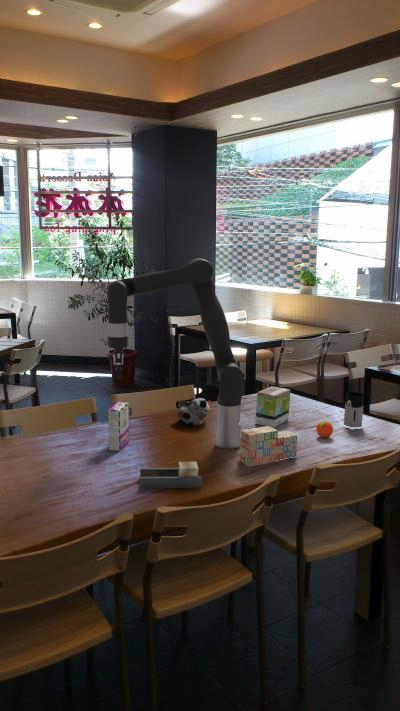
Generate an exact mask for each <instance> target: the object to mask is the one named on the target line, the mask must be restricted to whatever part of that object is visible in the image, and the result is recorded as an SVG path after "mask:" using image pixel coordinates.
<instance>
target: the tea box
mask: <svg viewBox="0 0 400 711" xmlns="http://www.w3.org/2000/svg"><path fill="white" fill-rule="evenodd" d="M256 393H257V394H256V395H257V396H256V408H255V420H254V422H255V425H256V424H257V425H261V426H264V425H265V426H270V427H271V428H276V427H277V426H279V425H281V424H282V423H285V422H287V421H288V420H289V414H290V404H291V403H290V402H291V388H290V389H289V388H283V387H279V386H278V387H277V386H269V387H266V388H264V389H262V390H260V391H257V392H256ZM287 419H288V420H287ZM286 420H287V421H286ZM284 421H285V422H284ZM265 426H264V427H265Z"/></svg>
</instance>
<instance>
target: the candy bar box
mask: <svg viewBox="0 0 400 711" xmlns="http://www.w3.org/2000/svg"><path fill="white" fill-rule="evenodd" d="M129 407H130V406H129V402H125V401H124V402H121V401H117V402H116V403H115V404H114V405H113V406H111V407H110V408H108V409H107V411H108V413H107V416H108V417H107V418H108V419H107V420H108V422H107V425H108V451H112V452H113V451H114V452H121V451H123V449H124V448H125V446H126V445H128V444H129V443H130V425H129V424H130V423H129V422H130V413H129V412H130V409H129Z"/></svg>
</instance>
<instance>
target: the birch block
mask: <svg viewBox="0 0 400 711" xmlns="http://www.w3.org/2000/svg"><path fill="white" fill-rule="evenodd" d="M178 468H179V477H191V476H198V468H199V466H198V462H197V461H178Z"/></svg>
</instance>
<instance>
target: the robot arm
mask: <svg viewBox="0 0 400 711" xmlns="http://www.w3.org/2000/svg"><path fill="white" fill-rule="evenodd" d="M213 276H214V267H213V265H212V263H211V262H210V261H208V260H207V259H204V258H201V257H200V258H199V257H197V258H194V259H191V260H190V261H189V263H188V264H186V265H184V266H181V267H177V268H174V269H168V270H161V271H154V272H150V273H144V274H141V275H136V276H134V277H128V278H122V279H117V280H113V281H112V282H111V283H109V285H108V287H107V288H108V289H107V293H108V294H107V295H108V296H107V297H108V298H107V300H108V315H107V316H108V317H107V318H108V324H107V326H108V327H107V347H108V348H110V349H114V350H113V351H112V358H113V365H114V370H115V371H114V372H115V373H114V374H115V380H117V381H121V380H122V376H123V374H122V373H123V372H122V370H123V364H124V354H125V353H124V351H123V350H122V349H126V348H128V347H129V325H128V310H127V308H128V307H127V306H128V297H132V296H136V295H137V296H140V295H141V296H142V295H145V294H146V295H147V294H150V293H154V292H159V291H162V290H165V289H169V288H173V287H179V286H185V285H191V286H192V288H193V292H194V294H195V296H196V302H197V305H198V311H199V315H200V319H201V323H202V327H203V329H204V333H205V336H206V339H207V342H208V345H209V347H210V348H211V352H212V354H213V358H214V362H215V368H216V375H217V378H218V381H219V390H218V396H217V400H216V401H217V403H216V407H217V408H216V432H215V434H216V435H215V445H216V447H218V448H221V449H226V450H227V449H229V450H232V449H236V448H241V446H240V443H241V430H242V424H241V409H242V408H241V406H242V399H243V392H244V372H243V370H242V369H241V368H240V367H239V365H238V364H237V361H236V359H235V357H234V353H233V350H232V346H231V338H230V337H231V336H230V329H229V325H228V322H227V321H228V320H227V318H226V315H225V312H224V309H223V307H222V305H221V302H220V301H219V298H218V297H217V294H216V292H215V288H214V284H213V280H212V278H213Z"/></svg>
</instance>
